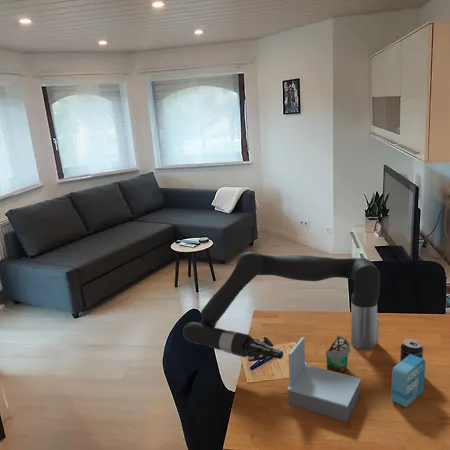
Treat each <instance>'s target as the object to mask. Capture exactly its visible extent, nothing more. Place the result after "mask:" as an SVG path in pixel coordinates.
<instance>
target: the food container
mask: <svg viewBox="0 0 450 450" xmlns="http://www.w3.org/2000/svg"><path fill="white" fill-rule="evenodd" d="M350 352H351V344H350V343H349V341H348V340H347V338H345V337H344V336H342V335H336V339H335V340H334V342H333V343H332V344H331V346H330V348H328V350H325V357H326V370H330V371H334V372H338V373H342V374H346V372H347V367H348V358H349V357H348V356H349V353H350Z"/></svg>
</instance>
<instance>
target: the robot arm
mask: <svg viewBox="0 0 450 450" xmlns="http://www.w3.org/2000/svg"><path fill="white" fill-rule="evenodd" d="M256 276H276V277H280V278H284V279H289V280H294V281H302V282H303V281H304V282H319V281H320V282H321V281H325V280H328V279H332V278H340V279H341V278H342V279H348V280H349V279H350V280H353V292H352V294H351V299H350V300H351V303H350V305H351V308H350V313H351V314H350V345H351V346H353V347H354V348H355V349H358V350H362V351H368V350H369V351H370V350H373V349H375V348H376V346H377V345H378V344H379V325H380V324H379V323H380V322H379V320H378V300H379V297H380V294H381V292H380V291H381V273H380V270H379V268H378V267H377V266H376V265H375V263H373V262H372V261H371V260H370V259H367V258H363V257H358V258H357V257H353V258H336V257H335V258H334V257H324V256H313V255H301V254H300V255H299V254H298V255H295V254H294V255H270V254H263V253H257V252H253V251H245V252H243V253H241V254H240V255H239V256H238V258H237V260H236V265H235V268H234V269H233V271H232V273H231V274H230V276H229V277H228V278H227V280H226V281H225V282H224V284H223V285H222V286H221V287H220V288H219V289H218V290H217V291H216V292H215V293H214V294H213V296H212V297H211V298H210V299H209V300H208V301H207V303H206V304H205V305H204V307H203V308H202V310H201V312H200V316H201V317H202V318H201V319H200V322H196V321H191V322H188V323H186V324H185V325H184V327H183V328H182V335H183V338H185V340H186V341H188V342H190V343H193V344H196V345H204V346H208V347H210V348H211V349H215V350H219V351H223V352H225V353H226V354H230V355H234V356H237V357H242V358H246V357H247V359H248V360H247V361H248V362H251V363H252V362H257V361H258V362H259V361H266V360H267V358H275V359H279V360H281V359H282V358H283V357H284V351H283V350H281V349H277V348H274V344H273V342H272V341H271V340H270V339H269V338H268V337H267V336H264V337H262V338H263V339H261V340H260V339H257V338H252V336H251V335H250V334H246V333H242V332H238V331H234V330H226V329H223V328H217V327H216V325H217V322H218V321H219V320H221V318H222V317H223V316H224V314H225V313H226V311H228V308H230V306H231V304H232V303H233V302H234V300H235V299H236V297H237V296H238V295H239V294H240V293H241V291H242V290H244V288H245V287H246V286H247V285H248V284H249V283H250V282H252V280H254V279H255V277H256Z"/></svg>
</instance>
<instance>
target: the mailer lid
mask: <svg viewBox="0 0 450 450" xmlns="http://www.w3.org/2000/svg"><path fill="white" fill-rule="evenodd" d="M305 342H306V341H305V337H304V336H302V337H301V338H300V339H299V340H298V341H297V343H296V344H295V345H294V347H292V349H291V350H290V351H289V352H288V377H289V378H288V379H289V380H288V381H289V385H288V387H287V388H286V390H287V391H288V392H289V391H292V392H296V393H299V394H302V395H306V396H309V397H313V398H316V399H319V400H323V401H326V402H330V403H333V404H336V405H340V406H343V407H347V408H348V406H349V404H350V402H351V400H352V398H353V396H354V394H355V392H356V389H357V387H358V385H359V383H360V384H361V381H362V378H361V377H357V376H352V375H350V374H346V373H344V374H342V373H338V372H334V371H330V370H327V368H326V369H325V368H323V367H322V368H321V367H318V366H313V365H311V364H310V365H309V364H308V363H307V364H306V355H305V354H306V353H305V352H306V351H305V350H306V349H305Z"/></svg>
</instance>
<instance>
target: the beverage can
mask: <svg viewBox="0 0 450 450" xmlns="http://www.w3.org/2000/svg"><path fill="white" fill-rule="evenodd" d="M410 354H412V355H414V356H417V357H419V358H422V359H424V346H422V342H421V341H420V340H418V339H415V338H405V339H404V340H403V341H402V343H401V344H400V356H399V358H400V359H399V363H400V362H401V361H402V360H403V359H405V358H406V357H407V356H409V355H410Z"/></svg>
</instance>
